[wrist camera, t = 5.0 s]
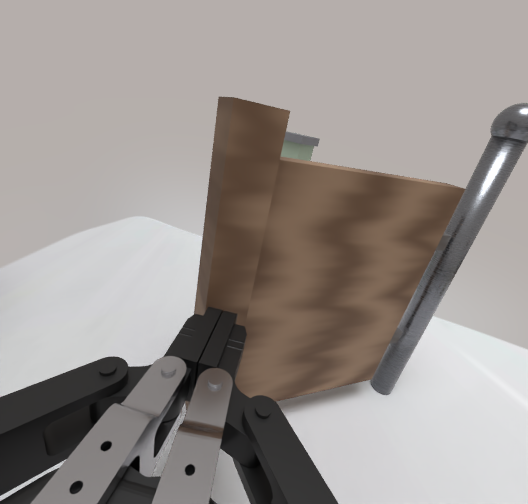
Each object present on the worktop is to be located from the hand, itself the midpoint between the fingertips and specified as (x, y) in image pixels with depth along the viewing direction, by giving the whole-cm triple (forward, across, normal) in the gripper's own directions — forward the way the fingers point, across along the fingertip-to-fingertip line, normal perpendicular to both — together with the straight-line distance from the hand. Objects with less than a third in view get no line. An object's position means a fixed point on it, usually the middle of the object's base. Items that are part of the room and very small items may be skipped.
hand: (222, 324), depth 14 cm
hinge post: (+11, +15, -12) cm, 22 cm away
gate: (+6, +6, -12) cm, 14 cm away
